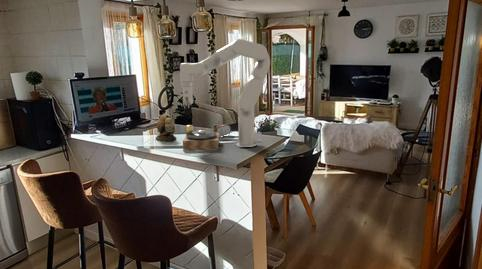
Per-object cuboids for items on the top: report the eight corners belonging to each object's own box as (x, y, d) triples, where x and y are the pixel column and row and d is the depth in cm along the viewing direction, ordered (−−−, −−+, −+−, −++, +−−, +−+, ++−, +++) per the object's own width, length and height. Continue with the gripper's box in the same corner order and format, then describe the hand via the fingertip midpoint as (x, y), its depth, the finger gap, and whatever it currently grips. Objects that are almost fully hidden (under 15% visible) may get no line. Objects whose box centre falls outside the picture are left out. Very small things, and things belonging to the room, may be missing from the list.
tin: (228, 134, 241) (227, 122, 239) (231, 135, 239) (231, 123, 237) (213, 138, 229) (212, 126, 228) (216, 139, 227) (216, 127, 226)
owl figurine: (182, 139, 228) (180, 114, 225) (167, 143, 220) (165, 116, 216) (166, 135, 240) (164, 111, 237) (151, 139, 232) (149, 113, 228)
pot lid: (217, 132, 218) (216, 122, 217) (215, 139, 200) (215, 128, 199) (188, 133, 218) (187, 122, 216) (184, 139, 200) (184, 128, 199)
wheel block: (218, 142, 220) (218, 132, 219) (217, 150, 201) (217, 140, 200) (187, 142, 220) (186, 133, 219) (183, 151, 200) (182, 140, 199)
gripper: (192, 85, 194) (192, 116, 197) (195, 83, 211) (195, 111, 214) (178, 85, 194) (179, 116, 197) (182, 83, 210) (183, 111, 214)
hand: (188, 113), depth 206 cm, fingers open, 9 cm apart
